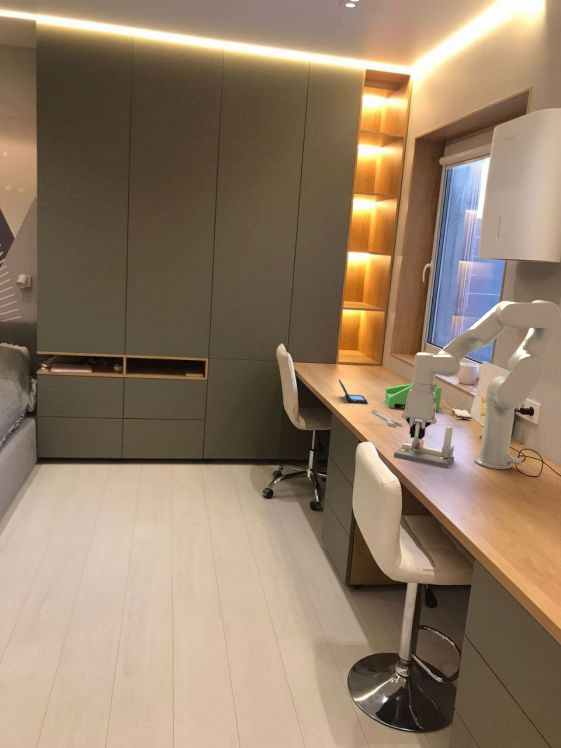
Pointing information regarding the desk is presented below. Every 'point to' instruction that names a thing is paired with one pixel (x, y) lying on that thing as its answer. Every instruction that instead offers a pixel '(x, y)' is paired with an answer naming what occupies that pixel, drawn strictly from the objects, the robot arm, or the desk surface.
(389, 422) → the adjustable wrench
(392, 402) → the ramp block with notch
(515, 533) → the desk surface
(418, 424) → the post
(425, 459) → the board
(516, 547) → the desk surface
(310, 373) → the desk surface
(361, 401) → the handheld game console
